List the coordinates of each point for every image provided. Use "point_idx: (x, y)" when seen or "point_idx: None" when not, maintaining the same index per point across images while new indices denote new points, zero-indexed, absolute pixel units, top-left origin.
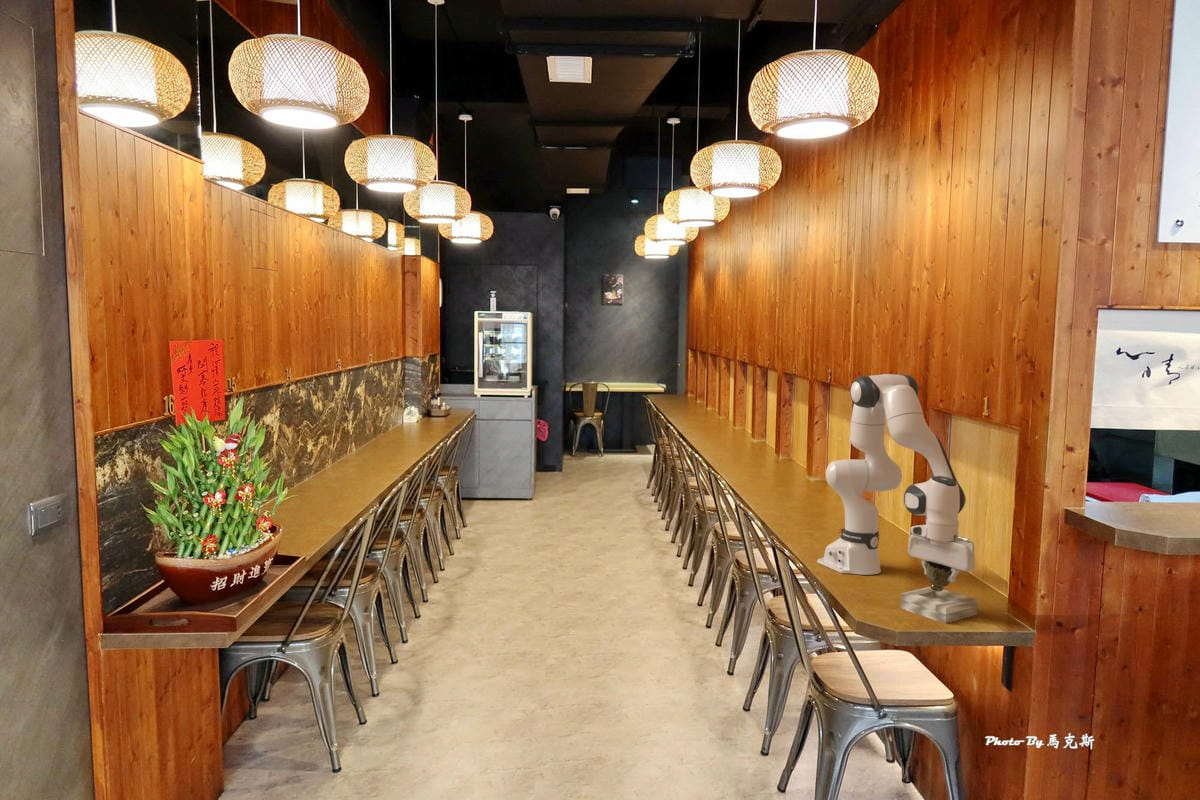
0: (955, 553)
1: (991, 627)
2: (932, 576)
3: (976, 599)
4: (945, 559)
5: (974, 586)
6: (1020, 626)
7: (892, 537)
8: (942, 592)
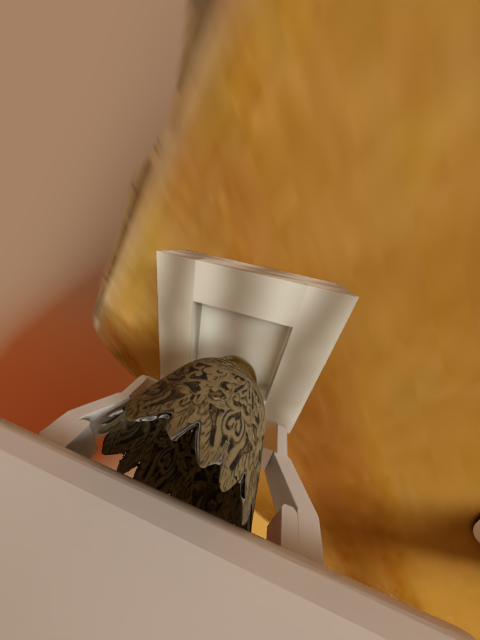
0: None
1: (126, 308)
2: (208, 375)
3: None
4: (8, 539)
5: (260, 495)
6: (112, 350)
7: None
8: None
